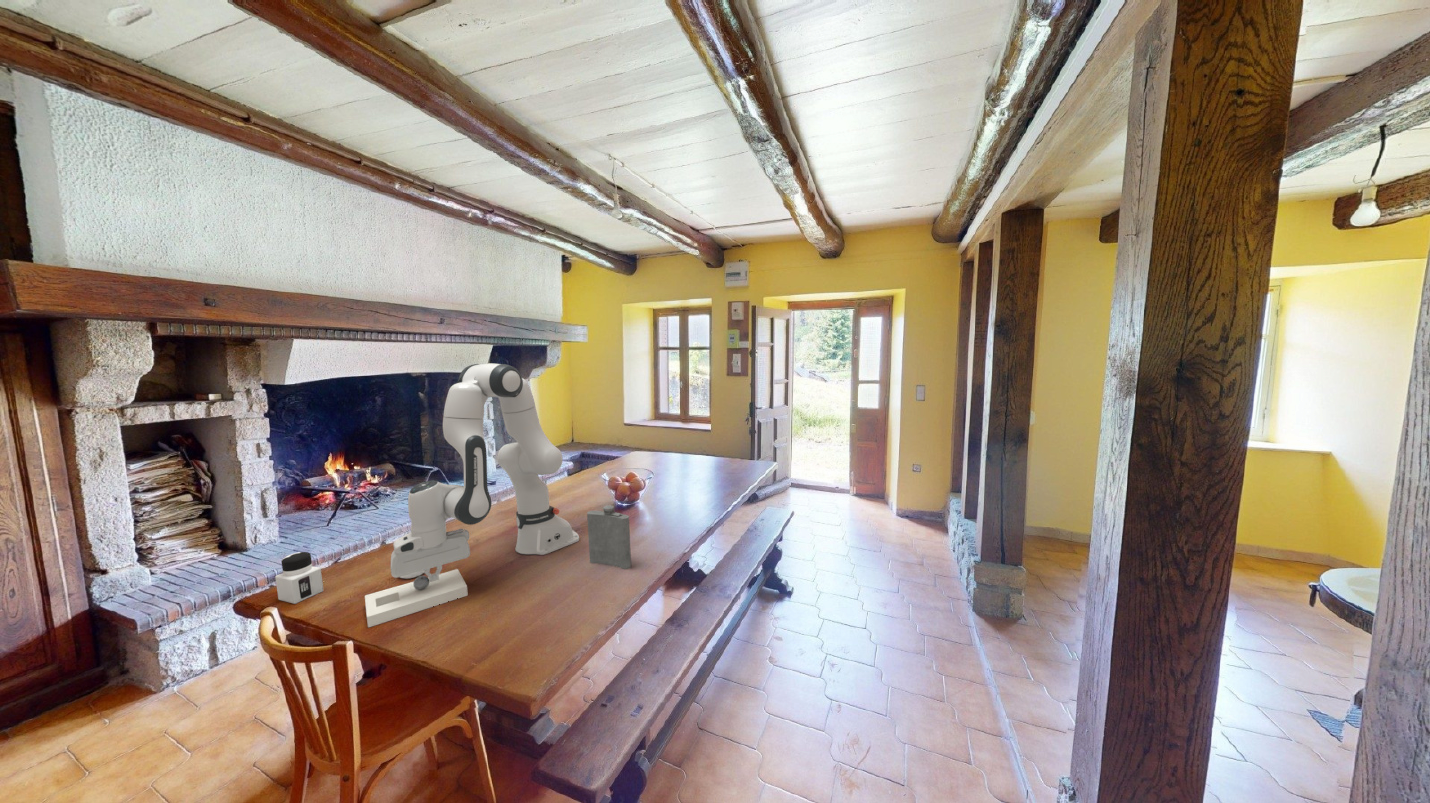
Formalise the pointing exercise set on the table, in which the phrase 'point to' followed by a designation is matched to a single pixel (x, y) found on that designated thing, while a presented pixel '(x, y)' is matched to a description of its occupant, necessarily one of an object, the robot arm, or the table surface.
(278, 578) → the container
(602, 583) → the table surface
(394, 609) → the hole board
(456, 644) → the table surface
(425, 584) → the steel ball
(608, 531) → the hip flask
